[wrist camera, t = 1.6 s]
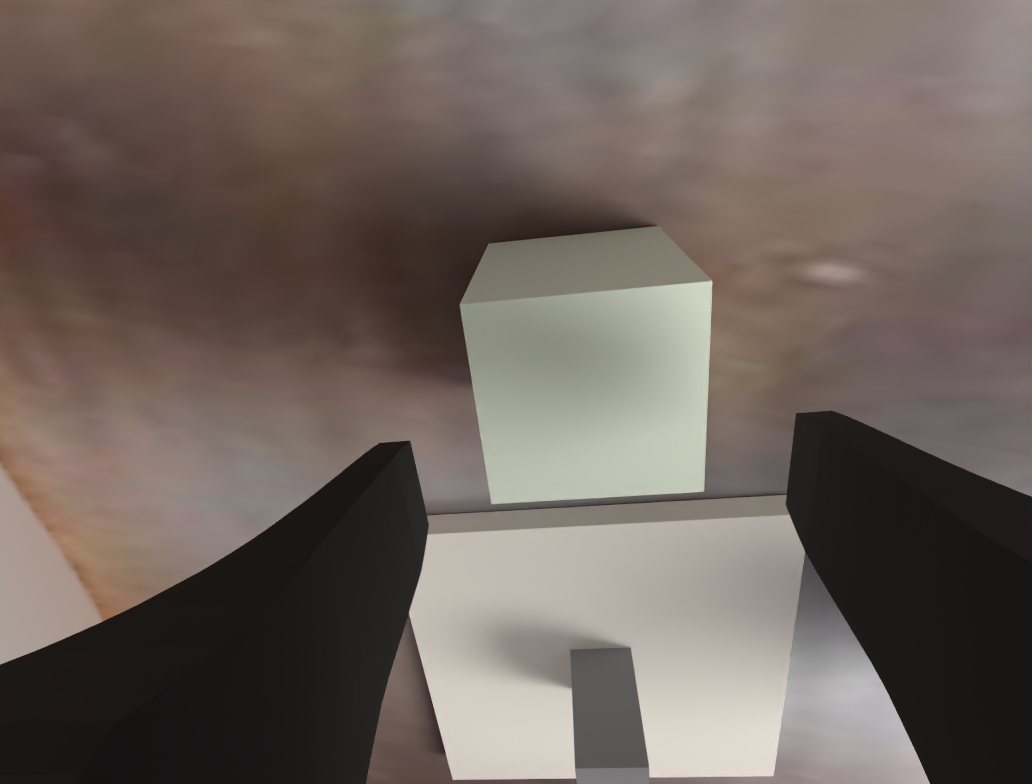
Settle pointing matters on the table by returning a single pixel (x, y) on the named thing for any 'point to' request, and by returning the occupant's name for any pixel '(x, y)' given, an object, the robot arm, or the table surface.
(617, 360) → the pale green block
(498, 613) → the post board
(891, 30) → the table surface
